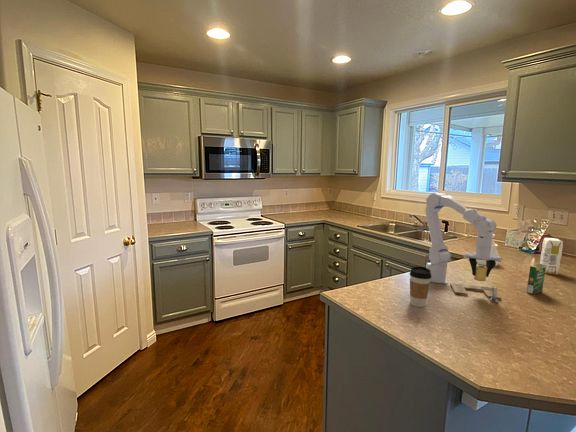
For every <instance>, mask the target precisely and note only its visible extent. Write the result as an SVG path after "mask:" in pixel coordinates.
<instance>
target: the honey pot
mask: <svg viewBox="0 0 576 432" xmlns="http://www.w3.org/2000/svg"><path fill="white" fill-rule="evenodd" d="M495 236H496V234H494V233H493V237H492V245H491V253H490V255H491V256H497V257H500V256H499V251H498V249H497V247H498V246H499V244H497V243H495V240H494V239H493V238H495ZM473 254H475V252H474V253H473ZM476 262H477V265H483V266H486V260H477V259H476ZM495 262H496V265H495V266H494V267H496V266H498V265H499V262H498V261H495Z"/></svg>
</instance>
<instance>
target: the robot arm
mask: <svg viewBox="0 0 576 432" xmlns="http://www.w3.org/2000/svg"><path fill="white" fill-rule="evenodd" d="M425 201H426V202H425V203H426V206H425V210H424V211H425V217H426V221H427V227H428V232H429V237H430V242H431V245H430V248H429V249H428V251H429V254H428V259H429V262H426V265H425V268H428V269H429V270H430V271H431V276H432V278H430V283H438V284H446V285H448V281H447V271H448V270H447V269H448V263H449V261H450V260H451V259H452V254H451V252H450V251H449V248H448V246H447V245H446V244H445V243H444V237H443V233H442V229H441V223H440V218H439V212H440V211H441V209H443V208H445V207H449V208H451V209H452V210H454V211H456V212H457V213H459V214H460V215H462V219H464V220H465V221H467V222H468V223H469V224H471V225H473V226H474V227H475V229H476V231H477V235H476V243H475V245H476V246H475V251H474V253H475V254H474V253H463V259H465V260H469V264H470V267H471V271H472V272H471V274H472V276H475V274H476V265H478V263H477V262H476V259H477V260H486V265H485V266H486V267H487V274H486V278H489V275H490V273H491V271H492V269H493V268H494V267H496V266H495V265H496V262H495V261H498V263H502V261H503V259H502V258H503V257H502V256H499V257H497V256H491V255H490V253H491V245H492V239H493V238H494V237H493V234H494V231H495V230H496V229H497V222H496V221H495V220H494V219H493V218H487V216H486V215H483V214H481V213H480V212H478V210H477V209H476V208H467V207H466V206H464V205H463V204H461V203H460V202H459V201H458V200H456V199H455V198H454V197H453V196H452V195H450V194H448V193H447V192H441V193H431V194H429V195H428V197H426V199H425ZM492 237H493V238H492Z"/></svg>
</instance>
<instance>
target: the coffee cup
mask: <svg viewBox="0 0 576 432" xmlns="http://www.w3.org/2000/svg"><path fill="white" fill-rule="evenodd" d="M409 276H410V278H409V296H410V297H409V301H410V305H412V306H414V307H417V308H424V307H426V304H427V299H428V294H429V289H430V286H431V282H430V278H432V276H431V271H430V270H429V269H428V268H426V266H425V267H424V266H412V267H411V268H410V271H409Z"/></svg>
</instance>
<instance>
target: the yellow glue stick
mask: <svg viewBox="0 0 576 432" xmlns="http://www.w3.org/2000/svg"><path fill="white" fill-rule="evenodd" d="M486 274H487V267H486V265H481V264H477V265H476V274H475V276H474V275H473V276H474V277H473V280H475V281H477V282H486V280H487V277H486Z"/></svg>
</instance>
